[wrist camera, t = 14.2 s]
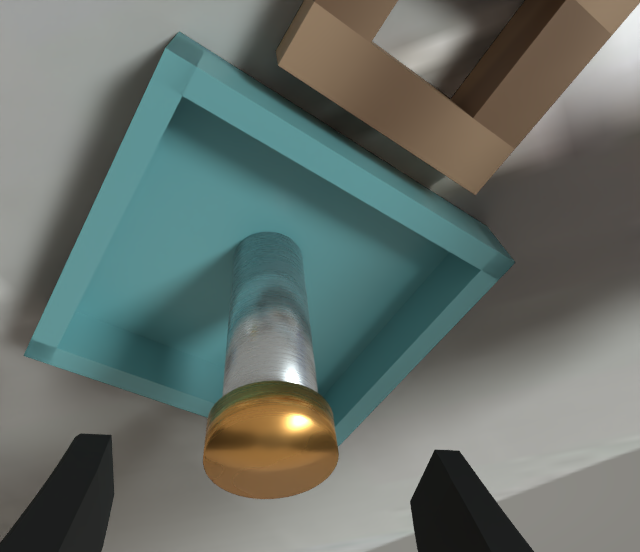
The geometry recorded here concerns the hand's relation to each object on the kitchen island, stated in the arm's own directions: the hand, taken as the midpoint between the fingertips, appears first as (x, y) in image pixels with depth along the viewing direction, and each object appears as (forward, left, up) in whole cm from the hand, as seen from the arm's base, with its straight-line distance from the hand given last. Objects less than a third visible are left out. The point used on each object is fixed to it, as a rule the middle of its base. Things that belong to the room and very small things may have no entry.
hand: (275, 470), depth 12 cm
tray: (0, 0, -9) cm, 9 cm away
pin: (0, 0, -8) cm, 8 cm away
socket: (0, -10, -9) cm, 13 cm away
